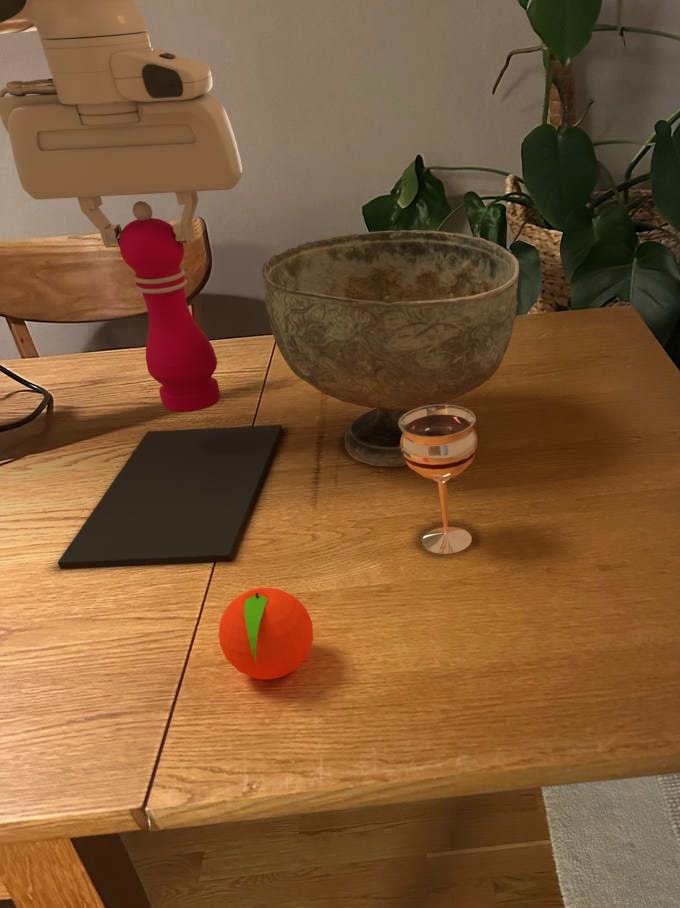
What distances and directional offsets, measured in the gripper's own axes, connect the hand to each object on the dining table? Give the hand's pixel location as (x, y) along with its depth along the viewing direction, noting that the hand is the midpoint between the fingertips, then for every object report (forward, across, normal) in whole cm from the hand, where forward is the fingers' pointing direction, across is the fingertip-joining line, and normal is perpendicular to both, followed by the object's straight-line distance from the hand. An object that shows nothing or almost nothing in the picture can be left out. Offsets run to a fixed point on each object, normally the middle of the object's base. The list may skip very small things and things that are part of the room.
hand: (151, 244), depth 82 cm
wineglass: (+22, +28, -22) cm, 42 cm away
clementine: (+22, +15, -40) cm, 48 cm away
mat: (+22, 0, -10) cm, 24 cm away
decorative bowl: (+22, +23, 0) cm, 32 cm away
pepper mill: (+16, 0, 0) cm, 16 cm away
